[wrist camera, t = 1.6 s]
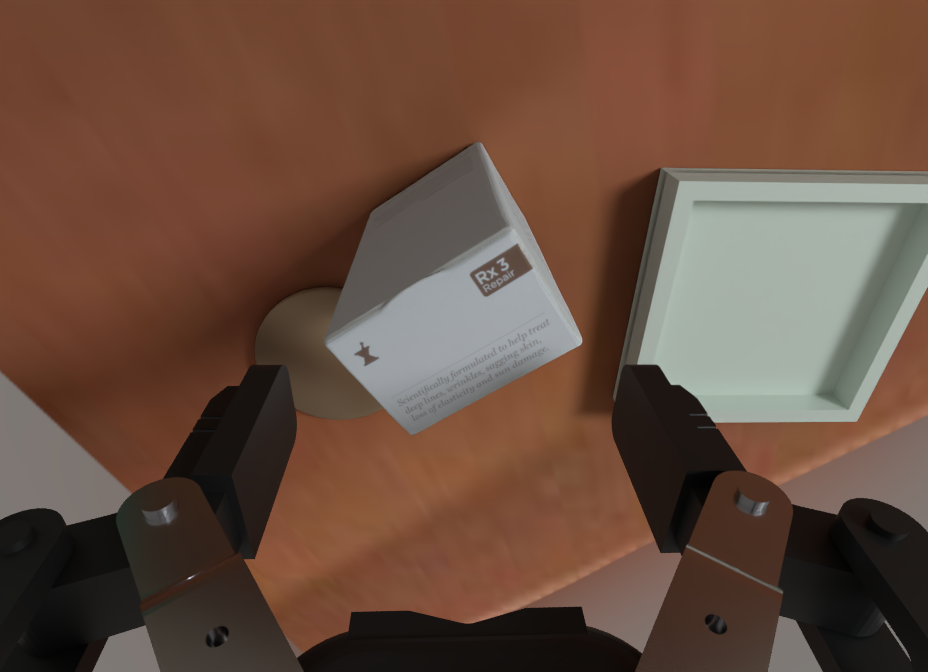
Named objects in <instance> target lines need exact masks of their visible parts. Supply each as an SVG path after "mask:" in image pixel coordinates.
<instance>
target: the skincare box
mask: <svg viewBox="0 0 928 672" xmlns="http://www.w3.org/2000/svg"><path fill="white" fill-rule="evenodd" d="M324 344H325V346H326V347H327V348H328V349H329V350H330V351H331V352H332V353H333V354H334V356H335V357H336V358H337V359H338V360H339V361H340V362H341V363H342V364H343V365H344V366H345V367H346V369H347V370H348V371H349V372H350V373H351V374H352V375H353V376H354V377H355V378H356V379H357V380H358V381H359V382H360V383H361V384H362V385H363V387H364V388H365V389H366V390H367V391H368V392H369V393H370V394H371V395H372V396H373V397H374V398H375V399H376V400H377V401H378V402H379V403H380V405H381V406H382V407H383V408H384V409H385V410H386V411H387V412H388V413H389V414H390V415H391V416H392V417H393V418H394V419H395V420H396V421H397V422H398V423H399V424H400V425H401V426H402V427H403V428H404V429H405V430H406V431H407V432H408V433H409V434H411V435H415V434H417V433H418V432H420V431H422V430H424V429H426V428H428V427H429V426H431V425H433V424H435V423H437V422H438V421H440V420H442V419H444V418H446V417H447V416H449V415H451V414H453V413H455V412H457V411H459V410H460V409H462V408H464V407H466V406H468V405H470V404H471V403H473V402H475V401H477V400H479V399H481V398H482V397H484V396H486V395H488V394H490V393H492V392H494V391H495V390H497V389H499V388H501V387H503V386H505V385H506V384H508V383H510V382H512V381H514V380H516V379H518V378H520V377H522V376H523V375H525V374H527V373H529V372H531V371H533V370H534V369H536V368H538V367H540V366H542V365H544V364H546V363H548V362H549V361H551V360H553V359H555V358H557V357H559V356H561V355H563V354H564V353H566V352H568V351H570V350H572V349H574V348H576V347H578V346H580V345H581V344H582V337H581V335H580V333H579V330H578V328H577V326H576V324H575V322H574V319H573V317H572V315H571V313H570V311H569V309H568V307H567V305H566V303H565V301H564V299H563V297H562V295H561V293H560V291H559V289H558V287H557V285H556V283H555V281H554V279H553V277H552V274H551V272H550V270H549V268H548V266H547V264H546V261H545V259H544V257H543V255H542V253H541V251H540V249H539V247H538V244H537V242H536V240H535V238H534V236H533V234H532V232H531V230H530V228H529V226H528V224H527V221H526V219H525V217H524V216H523V214H522V212H521V211H520V209H519V207H518V206H517V204H516V203H515V201H514V199H513V198H512V196H511V194H510V192H509V191H508V189H507V187H506V185H505V184H504V182H503V180H502V179H501V177H500V175H499V173H498V172H497V170H496V168H495V166H494V164H493V163H492V161H491V159H490V157H489V155H488V154H487V152H486V150H485V148H484V146H483V145H482V144H481V143H480V142H476V143H474V144H473V145H471V146H470V147H468V148H467V149H465V150H464V151H462V152H461V153H459V154H458V155H456V156H455V157H453V158H452V159H450V160H449V161H447V162H446V163H444V164H442V165H441V166H439V167H438V168H436V169H435V170H433V171H432V172H430V173H429V174H427V175H426V176H424V177H423V178H421V179H420V180H418V181H417V182H415V183H414V184H412V185H411V186H409V187H408V188H406V189H405V190H403V191H402V192H400V193H399V194H397V195H396V196H394V197H392V198H391V199H389V200H388V201H386V202H385V203H383V204H382V205H380V206H379V207H377V208H376V209H375V210H373V211H372V212H371V214H370V216H369V219H368V221H367V225H366V227H365V230H364V232H363V235H362V238H361V241H360V244H359V246H358V249H357V252H356V255H355V257H354V260H353V263H352V265H351V268H350V271H349V274H348V276H347V279H346V281H345V284H344V287H343V289H342V292H341V295H340V298H339V300H338V303H337V305H336V308H335V311H334V314H333V316H332V319H331V322H330V324H329V327H328V330H327V333H326V335H325V338H324Z"/></svg>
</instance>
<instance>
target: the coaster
mask: <svg viewBox="0 0 928 672" xmlns="http://www.w3.org/2000/svg"><path fill="white" fill-rule="evenodd" d="M342 289H343V288H338V287H316V288H310V289H305V290H302V291H299V292H296V293H294V294H292V295H289V296H287V297H286V298H284V299H283V300H281V301H280V302H278V303H277V304H276V305H275V306H274V307H273V308H272V309H271V310H270V311H269V313H268V314H267V315H266V317H265V319H264V321H263V322H262V324H261V326H260V328H259V330H258V333H257V335H256V340H255V359H256V364H257V365H286V367H287V369H288V373H289V378H290V383H291V389H292V395H293V400H294V406H295V409H297V410H299V411H301V412H303V413H306V414H309V415H312V416H316V417H320V418H326V419H335V420H345V419H354V418H360V417H364V416H367V415H370V414H372V413H375V412H377V411H379V410H381V409H382V408H383V407H382V406H381V405H380V403H379V402H378V401H377V400H376V399H375V398H374V397H373V396H372V395H371V394H370V393H369V392H368V391H367V390H366V389H365V388H364V387H363V385H362V384H361V383H360V382H359V381H358V380H357V379H356V378H355V377H354V376H353V375H352V374H351V373H350V372H349V371H348V370H347V369H346V367H345V366H344V365H343V364H342V363H341V362H340V361H339V360H338V359H337V358H336V357H335V356H334V354H333V353H332V352H331V351H330V350H329V349H328V348H327V347H326V346H325V344H324V338H325V335H326V333H327V330H328V327H329V324H330V322H331V319H332V316H333V314H334V311H335V308H336V305H337V303H338V300H339V298H340V295H341V292H342Z"/></svg>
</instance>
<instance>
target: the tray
mask: <svg viewBox="0 0 928 672" xmlns="http://www.w3.org/2000/svg"><path fill="white" fill-rule="evenodd" d="M927 287H928V172H925V171H854V170H783V169H712V168H661V170H660V175H659V179H658V184H657V189H656V194H655V199H654V203H653V208H652V213H651V218H650V222H649V227H648V232H647V237H646V241H645V246H644V251H643V256H642V260H641V265H640V270H639V275H638V279H637V284H636V289H635V294H634V298H633V303H632V308H631V313H630V318H629V322H628V327H627V332H626V337H625V341H624V346H623V351H622V356H621V360H620V365H619V370H618V375H617V379H616V384H615V389H614V394H613V400H614V402H615V399H616V395H617V390H618V385H619V380H620V375H621V371H622V368H623V367H624V365H627V364H656V365H658V366H659V367H660V368H661V370H662V371H663V373H664V374H665V376H666V378H667V379H668V381H669V382H670V384H671V385H681V386H682V387H683V388H685V389H686V390H687V391H689V392H690V393H691V394H693V395H694V396H695V397H696V398H698V400H699V401H700V403H701V404H702V406H703V407H704V409H705V410H706V412H707V413H708V414H707V415H708V416H710V418H711V419H712V421H713V422H857V420H858V418H859V416H860V415H861V413H862V411H863V409H864V407H865V405H866V403H867V401H868V399H869V397H870V395H871V394H872V392H873V390H874V388H875V386H876V384H877V382H878V380H879V378H880V376H881V374H882V373H883V371H884V369H885V367H886V365H887V363H888V361H889V359H890V357H891V355H892V353H893V352H894V350H895V348H896V346H897V344H898V342H899V340H900V338H901V336H902V334H903V332H904V331H905V329H906V327H907V325H908V323H909V321H910V319H911V317H912V315H913V313H914V311H915V310H916V308H917V306H918V304H919V302H920V300H921V298H922V296H923V294H924V292H925V290H926V289H927Z"/></svg>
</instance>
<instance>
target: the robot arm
mask: <svg viewBox="0 0 928 672" xmlns="http://www.w3.org/2000/svg"><path fill="white" fill-rule="evenodd" d="M707 414H708V413H707V412H706V410H705V409H704V407H703V406H702V404H701V403H700V401H699V400H698V398H696V397H695V396H694V395H693V394H691V393H690V392H689V391H687V390H686V389H685V388H683V387H682V386H681V385H671V384H670V382H669V381H668V379H667V378H666V376H665V374H664V373H663V371H662V370H661V368H660V367H659V366H658V365H656V364H627V365H624V367H623V368H622V371H621V375H620V380H619V385H618V390H617V395H616V399H615V404H614V409H613V414H612V433H613V437H614V441H615V443H616V446H617V448H618V451H619V453H620V455H621V458H622V460H623V463H624V465H625V468H626V470H627V472H628V475H629V477H630V480H631V482H632V485H633V487H634V489H635V492H636V494H637V497H638V499H639V502H640V504H641V506H642V509H643V511H644V514H645V516H646V519H647V521H648V524H649V526H650V528H651V531H652V533H653V536H654V538H655V541H656V543H657V545H658V548H659V550H660V553H681V556H682V558H681V560H680V562H679V565H678V568H677V570H676V572H675V575H674V577H673V580H672V582H671V584H670V587H669V589H668V592H667V594H666V597H665V599H664V602H663V604H662V607H661V609H660V611H659V614H658V617H657V619H656V621H655V624H654V626H653V629H652V631H651V634H650V637H649V639H648V641H647V644H646V646H645V648H644V651H643V653H641V652H639V651H638V650H637V649H635V648H634V647H632V646H631V645H629V644H628V643H626V642H624V641H623V640H621V639H619V638H617V637H615V636H613V635H611V634H609V633H607V632H604V631H601V630H599V629H596V628H593V627H588V626H586V623H585V619H584V615H583V611H582V607H552V608H551V607H548V608H524V609H521V610H517V611H514V612H510V613H507V614H503V615H500V616H497V617H493V618H490V619H486V620H483V621H479V622H476V623H471V624H464V623H459V622H455V621H450V620H446V619H442V618H438V617H433V616H429V615H425V614H421V613H416V612H412V611H376V612H351V619H350V625H349V631H348V632H345V633H341V634H338V635H336V636H334V637H331V638H329V639H326V640H324V641H323V642H321V643H319V644H317V645H315V646H314V647H312V648H310V649H309V650H308V651H306V652H305V653H303V654H302V655H300V656H299V657H298V658H296V656H295V654H294V652H293V651H292V649H291V647H290V645H289V643H288V641H287V639H286V637H285V635H284V634H283V632H282V630H281V628H280V626H279V624H278V622H277V621H276V619H275V617H274V615H273V613H272V611H271V609H270V607H269V606H268V604H267V602H266V600H265V598H264V596H263V594H262V593H261V591H260V589H259V587H258V585H257V583H256V581H255V579H254V578H253V576H252V574H251V572H250V570H249V568H248V566H247V564H246V563H245V561H244V559H255V556H256V554H257V551H258V548H259V545H260V542H261V539H262V536H263V533H264V530H265V527H266V524H267V521H268V519H269V516H270V513H271V510H272V507H273V504H274V501H275V498H276V495H277V492H278V489H279V486H280V484H281V481H282V478H283V475H284V472H285V469H286V466H287V463H288V460H289V457H290V454H291V451H292V448H293V446H294V442H295V438H296V431H297V419H296V412H295V406H294V400H293V395H292V389H291V383H290V378H289V373H288V369H287V367H286V365H251V366H250V367H249V369H248V371H247V373H246V375H245V376H244V378H243V380H242V382H241V384H240V386H227V387H226V388H225V389H224V390H222V391H221V392H220V393H219V394H217V395H216V396H215V397H213V398H212V399H211V400H210V401H209V403H208V405H207V406H206V408H205V410H204V411H203V413H202V415H201V419H199V420H198V421H197V423H196V425H195V426H194V428H193V432H191V433H190V435H189V436H188V438H187V440H186V441H185V443H184V445H183V446H182V448H181V450H180V451H179V453H178V455H177V456H176V458H175V460H174V461H173V463H172V465H171V466H170V468H169V470H168V471H167V473H166V475H165V476H164V478H163V479H161V480H158V481H155V482H152V483H150V484H148V485H146V486H144V487H142V488H140V489H139V490H137V491H136V492H134V493H133V494H132V495H131V496H129V497H128V498H127V499H126V500H125V502H124V503H123V504H122V505H121V507H120V509H119V511H118V512H117V513H115V514H111V515H107V516H103V517H100V518H96V519H91V520H87V521H84V522H80V523H75V524H71V525H66V523H65V521H64V519H63V518H62V516H61V515H60V514H59V513H58V512H57V511H54V510H51V509H46V508H41V509H40V508H37V509H30V510H25V511H21V512H18V513H15V514H12V515H10V516H8V517H5V518H3V519H1V520H0V672H92V671H93V669H94V667H95V665H96V663H97V661H98V658H99V656H100V654H101V652H102V650H103V648H104V646H105V644H106V642H107V639H108V637H110V636H112V635H116V634H119V633H122V632H125V631H129V630H131V629H135V628H138V627H141V626H144V625H146V628H147V631H148V634H149V637H150V640H151V643H152V647H153V650H154V653H155V656H156V659H157V662H158V665H159V668H160V672H768V668H769V663H770V658H771V653H772V647H773V643H774V638H775V632H776V628H777V623H778V618H779V616H783V617H787V618H790V619H794V620H796V622H797V623H798V625H799V627H800V629H801V631H802V633H803V635H804V637H805V639H806V641H807V643H808V644H809V646H810V648H811V650H812V652H813V654H814V656H815V658H816V660H817V661H818V663H819V665H820V667H821V669H822V671H823V672H928V532H927V531H926V530H925V529H924V528H923V527H922V526H921V525H920V524H919V523H918V522H917V521H915V519H913V518H912V517H910V516H909V515H908V514H906V513H904V512H902V511H901V510H899V509H897V508H895V507H893V506H891V505H889V504H886V503H883V502H880V501H877V500H873V499H867V498H855V499H850V500H848V501H846V502H845V503H844V504H843V506H842V507H841V509H840V511H839V513H838V515H835V514H831V513H827V512H822V511H818V510H814V509H809V508H805V507H800V506H797V505H793V504H791V501H790V500H789V498H788V497H787V495H786V494H785V493H784V492H783V491H782V490H781V489H780V488H779V487H778V486H776V485H775V484H774V483H772V482H771V481H769V480H767V479H765V478H763V477H761V476H759V475H756V474H753V473H750V472H747V471H746V470H745V468H744V467H743V465H742V464H741V462H740V461H739V459H738V458H737V456H736V455H735V453H734V452H733V450H732V449H731V447H730V446H729V444H728V443H727V441H726V440H725V438H724V437H723V435H722V434H721V433H720V431H719V430H718V429H716V425H715V424H714V422H713V421H712V419H711V418H710V416H708V415H707ZM885 620H887V622H888V623H889V625H890V626H891V628H892V629H893V631H894V632H895V634H896V635H897V637H898V638H899V640H900V641H901V642H902V644H903V645H904V647H905V649H906V650H907V652H908V654H909V656H910V659H911V661H910V659H909V658H908V657H907V655H906V654H905V652H904V651H903V650H902V648H901V646H900V645H899V643H898V642H897V640H896V639H895V637H894V636H893V634H892V633H891V631H890V630H889V628H888V627H887V625H886V624H885V623H884V621H885Z"/></svg>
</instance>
